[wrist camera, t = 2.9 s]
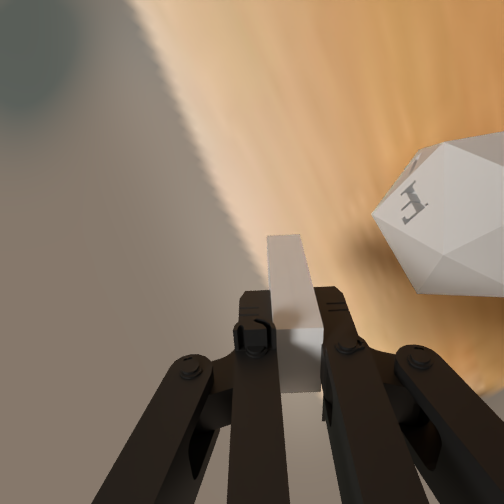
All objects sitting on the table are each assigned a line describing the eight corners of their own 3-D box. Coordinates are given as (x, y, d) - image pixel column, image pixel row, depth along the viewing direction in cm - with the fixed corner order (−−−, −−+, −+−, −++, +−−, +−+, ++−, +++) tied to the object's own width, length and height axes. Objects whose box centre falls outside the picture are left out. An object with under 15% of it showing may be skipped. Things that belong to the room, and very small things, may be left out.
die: (489, 81, 21) (440, 110, 15) (623, 191, 20) (637, 280, 13) (388, 185, 28) (320, 239, 21) (484, 275, 26) (445, 365, 19)
